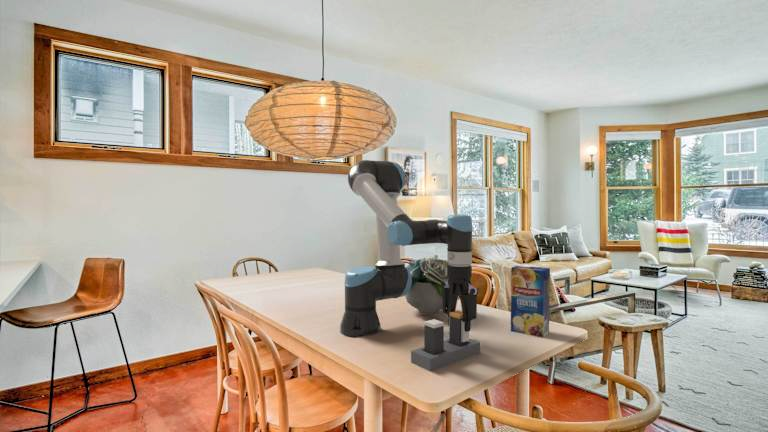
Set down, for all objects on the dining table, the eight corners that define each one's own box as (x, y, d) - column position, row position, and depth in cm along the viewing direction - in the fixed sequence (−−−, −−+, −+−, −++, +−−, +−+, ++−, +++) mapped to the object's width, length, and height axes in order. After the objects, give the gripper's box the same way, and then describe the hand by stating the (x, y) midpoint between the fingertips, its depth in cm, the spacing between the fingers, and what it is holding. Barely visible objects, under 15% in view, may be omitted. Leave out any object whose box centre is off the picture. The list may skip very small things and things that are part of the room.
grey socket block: (411, 365, 120) (411, 350, 120) (460, 349, 134) (460, 335, 134) (430, 374, 114) (430, 358, 114) (480, 356, 128) (480, 342, 128)
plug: (449, 350, 128) (449, 312, 127) (457, 347, 130) (458, 310, 130) (459, 354, 124) (459, 315, 124) (467, 351, 127) (468, 313, 127)
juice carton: (549, 332, 151) (550, 268, 150) (543, 337, 145) (544, 270, 144) (517, 326, 158) (517, 265, 158) (510, 331, 153) (511, 267, 152)
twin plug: (424, 361, 121) (424, 321, 120) (433, 358, 123) (434, 319, 123) (433, 366, 118) (434, 325, 117) (443, 362, 120) (444, 322, 120)
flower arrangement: (440, 325, 159) (440, 263, 158) (388, 314, 174) (389, 258, 173) (468, 311, 179) (468, 256, 178) (419, 303, 194) (420, 252, 193)
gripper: (431, 262, 131) (430, 334, 132) (473, 269, 117) (472, 349, 118) (447, 260, 135) (446, 329, 136) (489, 267, 122) (489, 344, 123)
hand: (458, 338), depth 127 cm, fingers open, 4 cm apart
